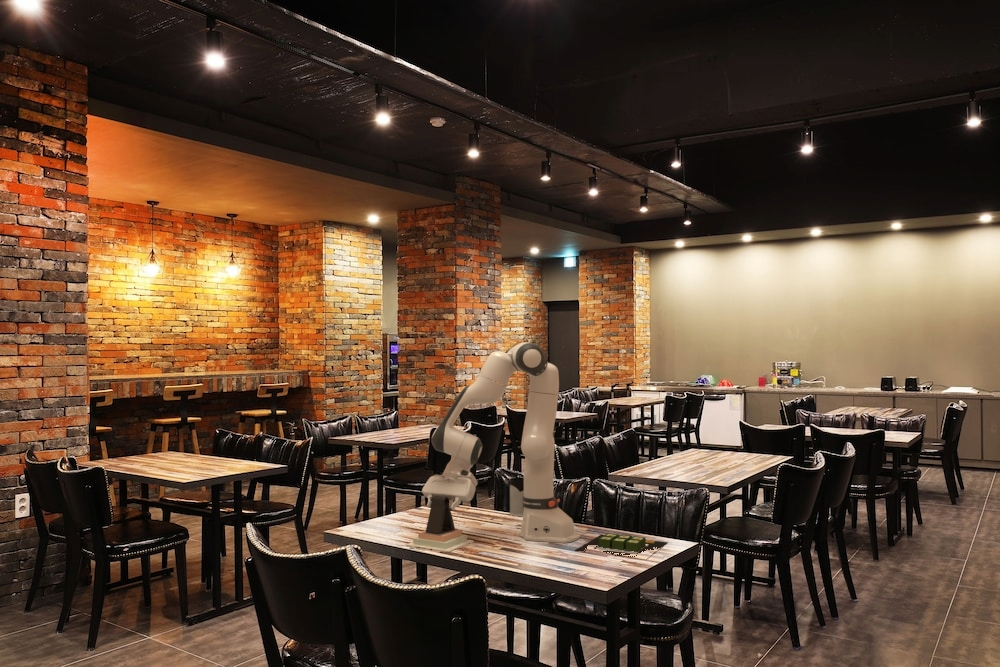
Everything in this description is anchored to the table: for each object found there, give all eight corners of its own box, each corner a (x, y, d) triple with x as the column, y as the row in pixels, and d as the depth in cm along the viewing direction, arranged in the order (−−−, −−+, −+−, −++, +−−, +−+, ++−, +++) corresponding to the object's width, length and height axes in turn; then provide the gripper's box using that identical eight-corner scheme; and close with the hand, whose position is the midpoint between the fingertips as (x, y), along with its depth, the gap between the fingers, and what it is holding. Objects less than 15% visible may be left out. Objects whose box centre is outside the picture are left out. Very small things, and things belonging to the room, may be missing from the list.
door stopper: (442, 527, 267) (442, 494, 268) (455, 529, 264) (454, 495, 264) (425, 532, 260) (425, 497, 261) (438, 534, 257) (438, 499, 257)
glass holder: (504, 514, 310) (504, 478, 311) (532, 510, 318) (531, 475, 319) (516, 517, 303) (516, 481, 304) (544, 513, 311) (544, 477, 311)
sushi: (668, 544, 261) (667, 534, 261) (646, 562, 239) (645, 550, 239) (601, 536, 273) (601, 526, 273) (574, 552, 251) (574, 541, 251)
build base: (473, 541, 264) (473, 528, 265) (448, 552, 251) (448, 538, 251) (432, 536, 273) (432, 523, 274) (406, 545, 260) (406, 532, 260)
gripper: (428, 469, 274) (412, 500, 266) (474, 472, 264) (460, 505, 255) (435, 479, 278) (420, 510, 269) (481, 483, 268) (467, 515, 259)
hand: (440, 508), depth 262 cm, fingers open, 8 cm apart
